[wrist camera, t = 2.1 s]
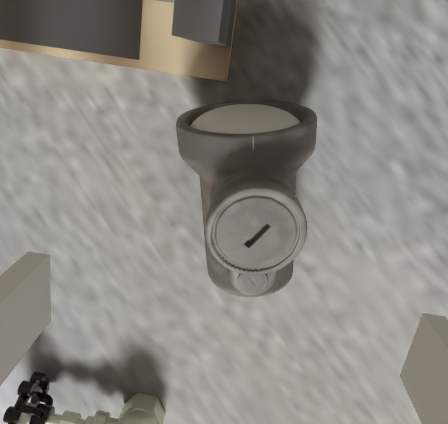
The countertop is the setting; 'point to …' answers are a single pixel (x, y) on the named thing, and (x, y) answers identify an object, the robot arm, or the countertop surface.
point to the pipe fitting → (249, 188)
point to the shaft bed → (126, 32)
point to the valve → (46, 419)
